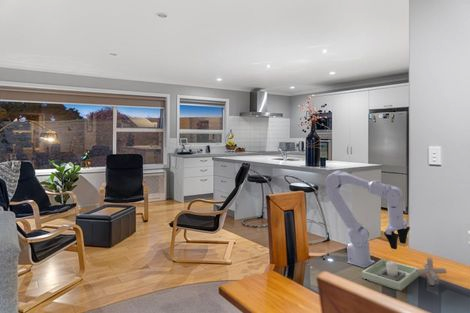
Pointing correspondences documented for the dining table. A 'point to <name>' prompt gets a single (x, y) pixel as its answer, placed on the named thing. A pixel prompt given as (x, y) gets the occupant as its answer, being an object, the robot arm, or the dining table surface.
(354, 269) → the dining table surface
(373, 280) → the walled box
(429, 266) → the grey toy jack
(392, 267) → the pvc coupling
